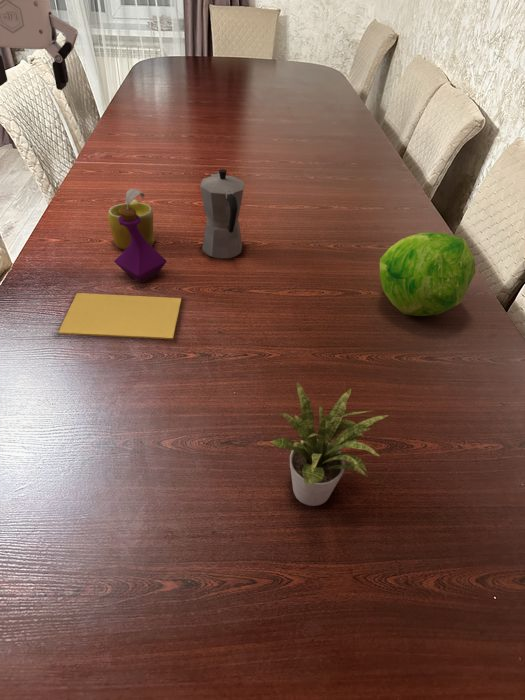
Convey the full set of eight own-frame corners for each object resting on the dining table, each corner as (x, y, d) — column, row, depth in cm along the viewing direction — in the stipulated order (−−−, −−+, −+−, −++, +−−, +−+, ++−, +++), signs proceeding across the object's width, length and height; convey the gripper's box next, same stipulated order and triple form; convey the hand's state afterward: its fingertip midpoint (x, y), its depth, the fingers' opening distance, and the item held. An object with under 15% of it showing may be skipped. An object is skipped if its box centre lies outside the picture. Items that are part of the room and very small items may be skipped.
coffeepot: (194, 236, 120) (192, 158, 108) (234, 232, 122) (235, 155, 110) (211, 272, 109) (211, 190, 97) (254, 266, 111) (259, 186, 100)
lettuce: (447, 289, 112) (423, 220, 108) (507, 296, 92) (479, 212, 88) (377, 324, 110) (349, 255, 107) (422, 338, 91) (390, 255, 87)
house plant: (365, 558, 63) (395, 479, 53) (253, 536, 65) (261, 455, 54) (368, 463, 74) (393, 382, 63) (272, 446, 75) (281, 364, 65)
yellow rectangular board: (58, 334, 91) (58, 332, 91) (77, 294, 100) (76, 292, 100) (173, 339, 92) (172, 337, 92) (181, 299, 101) (181, 298, 101)
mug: (156, 251, 110) (139, 204, 106) (112, 260, 112) (94, 215, 108) (171, 233, 121) (157, 191, 116) (131, 242, 123) (115, 200, 118)
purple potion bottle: (140, 289, 103) (129, 204, 91) (115, 274, 106) (102, 190, 94) (168, 274, 107) (162, 191, 95) (144, 261, 111) (135, 179, 99)
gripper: (-72, -48, 71) (-32, 88, 82) (57, -39, 71) (79, 95, 83) (-47, -52, 76) (-13, 76, 88) (72, -44, 77) (91, 82, 88)
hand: (32, 85), depth 85 cm, fingers open, 9 cm apart
